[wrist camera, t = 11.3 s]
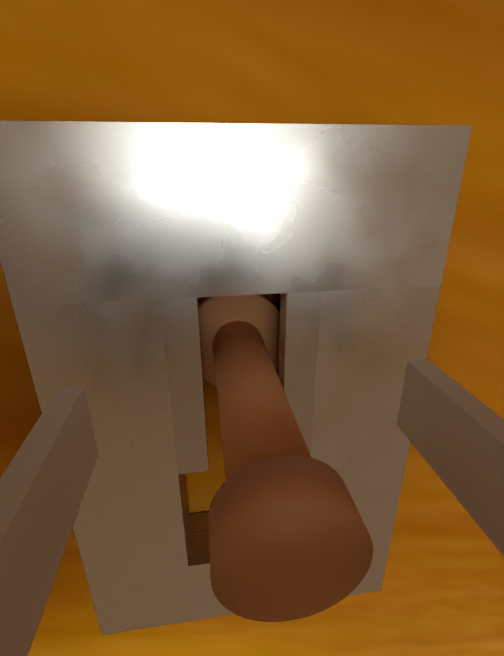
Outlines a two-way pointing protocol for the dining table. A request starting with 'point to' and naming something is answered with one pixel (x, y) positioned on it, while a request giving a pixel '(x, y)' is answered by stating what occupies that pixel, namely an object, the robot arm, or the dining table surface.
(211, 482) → the dining table surface
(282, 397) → the headed peg
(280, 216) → the keyhole plate
